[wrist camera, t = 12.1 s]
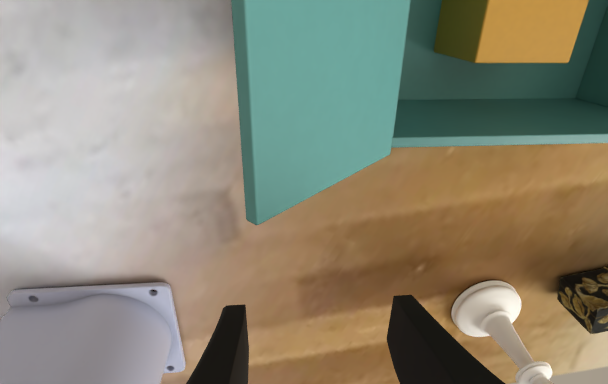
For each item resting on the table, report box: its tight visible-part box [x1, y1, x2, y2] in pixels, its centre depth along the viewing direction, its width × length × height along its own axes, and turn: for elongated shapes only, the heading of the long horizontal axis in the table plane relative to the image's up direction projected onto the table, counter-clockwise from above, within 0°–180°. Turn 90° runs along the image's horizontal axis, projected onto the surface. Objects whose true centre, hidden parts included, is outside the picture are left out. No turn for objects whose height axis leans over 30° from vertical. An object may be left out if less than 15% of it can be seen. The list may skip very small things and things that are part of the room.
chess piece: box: [451, 280, 554, 384], centre depth 22 cm, size 5×5×10 cm
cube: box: [434, 0, 589, 63], centre depth 15 cm, size 4×4×4 cm
